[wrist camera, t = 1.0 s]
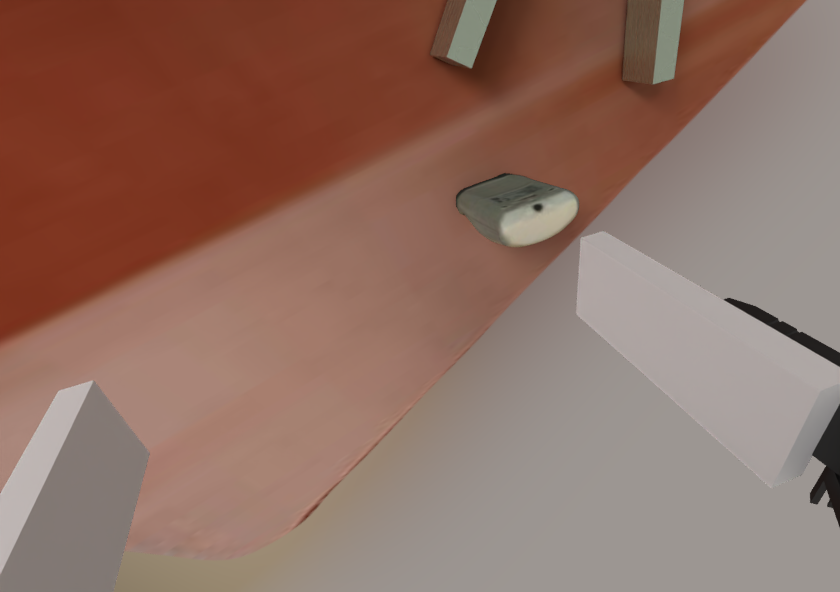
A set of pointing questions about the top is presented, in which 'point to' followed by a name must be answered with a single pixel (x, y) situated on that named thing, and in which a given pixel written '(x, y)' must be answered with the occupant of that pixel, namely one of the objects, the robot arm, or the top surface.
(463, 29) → the tong arm
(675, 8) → the base
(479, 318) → the top surface
